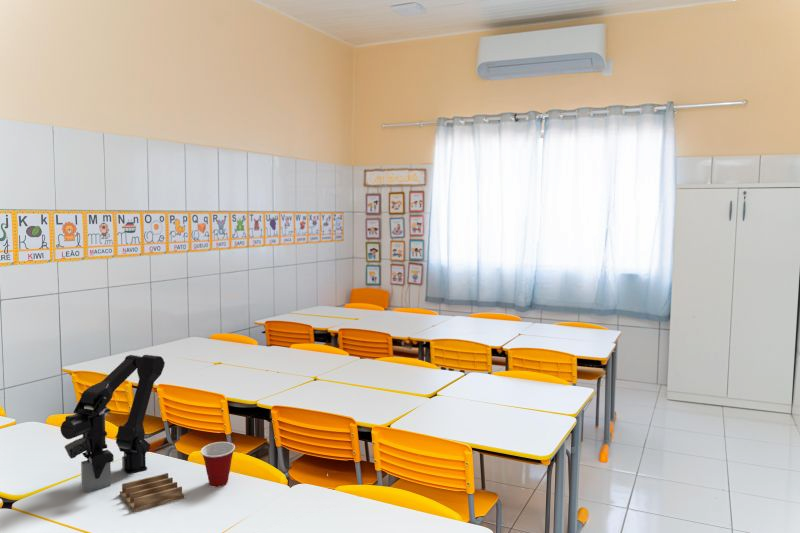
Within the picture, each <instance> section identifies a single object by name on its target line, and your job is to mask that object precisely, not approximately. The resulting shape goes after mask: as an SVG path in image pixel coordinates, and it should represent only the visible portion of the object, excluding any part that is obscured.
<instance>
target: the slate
mask: <svg viewBox="0 0 800 533" xmlns="http://www.w3.org/2000/svg"><path fill="white" fill-rule="evenodd" d="M80 466H81V469H80V470H81V471H80V472H81V473H80V474H81V476H80V477H81V479H80V480H81V490H82V492H83V493H85V492H90V491H94V490H99V489H103V488H106V487H110V486H111V485H112V483H111V482H112V480H111V479H112V478H111V477H112V476H111V474H112V473H111V471H112V470H111V469H112V468H111V462H109V463H106V465H105V467H104V469H103V471H102V473H101V475H100V477H99V478H98V479H96V478H95V475H94V470H93V466H92V465H91V464H90V463H89V462H88V461H87V460H83V461H80Z"/></svg>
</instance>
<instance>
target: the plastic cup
mask: <svg viewBox="0 0 800 533" xmlns="http://www.w3.org/2000/svg"><path fill="white" fill-rule="evenodd" d="M235 448H236V445H235V444H234V443H232V442H228V441H217V442H212V443H209V444H207V445H205V446H203V447H202V448H201V450H200V454H201V455H202V457H203V461H204V466H205V470H206V475H207V480H208V484H209V485H210V487H213V486H214V488H219V487H218V486H220V487H223V485H224V486H226V485H227V484H228V482H229V477H230V473H231V467H232V466H231V465H232V459H233V455H234V451H235Z"/></svg>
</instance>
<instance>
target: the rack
mask: <svg viewBox="0 0 800 533" xmlns="http://www.w3.org/2000/svg"><path fill="white" fill-rule="evenodd" d="M173 481H174V478H173V476H172V477H169V473H168V472H165V473H162V474H158V475H154V476H150V477H145V478H141V479H137V480H133V481H128V482H124V483H121V491H120V492H119V495H120V497H121V498H122V499H123V501H124V502H125V503H126V504H127V505H128V507H129V508H130V509H131V511H132V512H133V513H134V512H139V511H141V510H145V509H149V508H152V507H156V506H160V505H163V504H167V503H171V501H172V502H175V501H178V500H181V499H185V494H184V493H183V487H182V486H178V482H177V481H174V482H173Z"/></svg>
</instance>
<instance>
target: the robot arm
mask: <svg viewBox="0 0 800 533" xmlns="http://www.w3.org/2000/svg"><path fill="white" fill-rule="evenodd" d="M165 364H166V363H165V360H164V358H163V357H162V356H160V355H152V354H143V355H142V356H140V355H134V354H128V355H127V356H125V357H124V360H123V361H122V362H121V363H119V365H118V366H116V367H115V369H113V370H112V371H111V372H110V373H108V375H107V376H106V377H105V378H104V379H103V380H102V381H100V382H98V383H95V384H92V385H91V386H90V387H88V388H87V389H85V390H84V391H83V392H82V393H81V395H80V398H79V400H78V402H77V404H76V406H75V408H74V410H73V414H71V415H67V416H65V417H64V418H65V420H64V421H63V422H62V423H61V426H60V433H61V435H62V437H63V438H64V439H66V440H71V439H74V438H77V437H79V436H82V437H80V438H78V439H75V440H74V441H73V440H72V442H70V443H68V444H66V445H65V446H64V449H65V451H66V453H67V456H68V457H69V459H75V458H76V457H77V456H79V455H80V454H82V455H83V457H84V458H85V459H87V460H86V461H88V462H89V463H90V464H91V465H92V466H93V470H94V475H95V478H96V479H98V478H99V477H100V475H101V473H102V471H103V469H104V467H105V465H106V463H109V462H110V463H113V462H114V461H115V460H114V454H113V453H112V451H110V450H109V449H108V444H107V443H106V437H107V436H108V432H107V431H106V414H107V413H110V412H111V409H110V408H109V407H107V405H108V404H109V402H110V401H111V400H112V398H113V395H114V392H115V390H117V388H119V387H120V386H121V385H122V384H123V383H124V382H125V381H126V380H127V379H128V378H129V377H130V376H131V375H132V374H133V373H134V372H135V371H136V373H137V376H138V383H137V386H136V390H135V393H134V397H133V400H132V405H131V407H130V410H129V414H128V418H127V421H126V422H125V423H124V424H123V425H119V427H118V429H117V433H116V435H115V437H114V438H115V443H116V446H117V447H118V450H119V452H122V453H123V456H122V457H121V461H122V462H121V464H122V467H121V468H122V470H123V471H124V472H126V474H133V473H136V472H142V471H144V470H148V467H147V465H146V462H147V461H146V454H147V452H149V451H150V447H151V444H150V442H148V441H147V440H146V439H145V435H146V432H145V428H144V425H143V424H144V419H145V416H146V413H147V408H148V406H149V402H150V399H151V395H152V392H153V387H154V384H155V382H156V381H157V379H159V378H160V376H161V375H162V373H163V371H164V368H165ZM104 449H105V450H104Z"/></svg>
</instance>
